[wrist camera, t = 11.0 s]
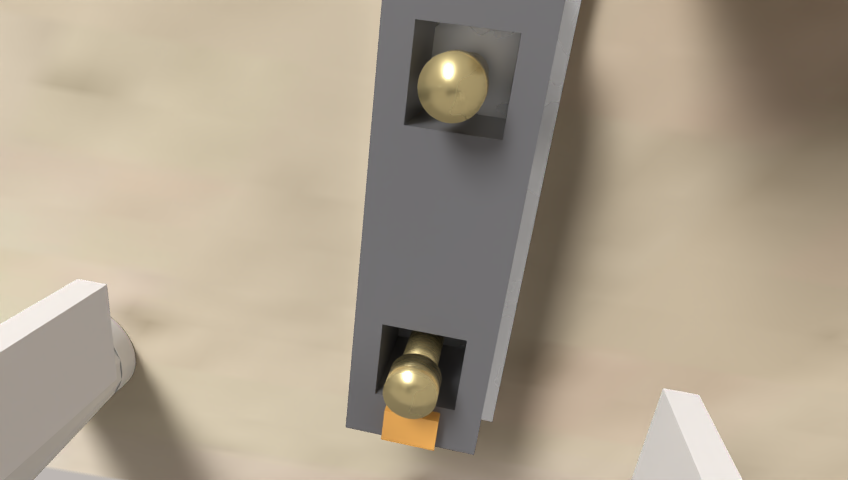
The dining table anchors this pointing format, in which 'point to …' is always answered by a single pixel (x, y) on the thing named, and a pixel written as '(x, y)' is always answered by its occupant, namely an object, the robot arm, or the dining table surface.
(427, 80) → the grey plate brass knobs
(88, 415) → the cup
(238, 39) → the dining table surface
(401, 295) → the grey rectangular block
